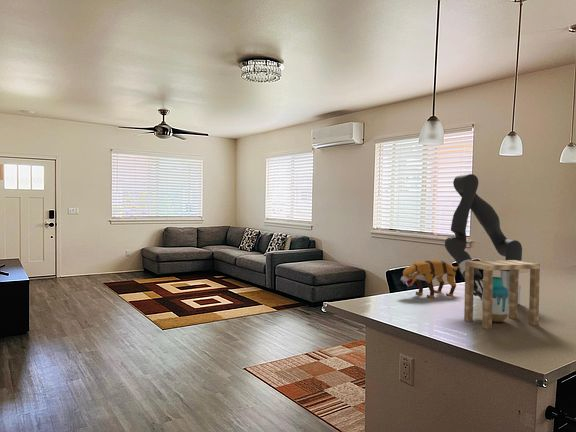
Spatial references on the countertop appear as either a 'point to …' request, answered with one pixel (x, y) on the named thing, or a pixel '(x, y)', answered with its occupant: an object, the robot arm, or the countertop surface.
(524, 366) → the countertop surface
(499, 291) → the vase
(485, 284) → the riser shelf
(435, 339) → the countertop surface
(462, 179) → the robot arm
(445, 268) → the toy
